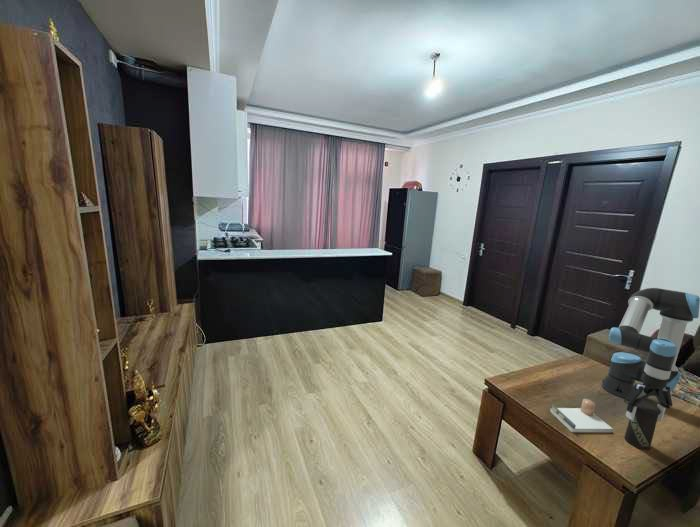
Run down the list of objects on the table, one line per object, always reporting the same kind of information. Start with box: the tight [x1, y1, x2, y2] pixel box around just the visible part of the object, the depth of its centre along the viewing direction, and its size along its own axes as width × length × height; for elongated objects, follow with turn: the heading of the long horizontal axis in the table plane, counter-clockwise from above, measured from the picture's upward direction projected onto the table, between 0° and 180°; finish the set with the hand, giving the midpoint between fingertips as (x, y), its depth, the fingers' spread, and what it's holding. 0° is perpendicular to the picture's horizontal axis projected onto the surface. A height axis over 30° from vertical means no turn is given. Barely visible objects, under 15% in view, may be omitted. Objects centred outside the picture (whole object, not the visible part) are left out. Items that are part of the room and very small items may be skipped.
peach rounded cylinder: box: [580, 398, 596, 416], centre depth 144 cm, size 5×5×6 cm
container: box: [624, 399, 661, 451], centre depth 127 cm, size 9×9×20 cm
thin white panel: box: [549, 404, 614, 433], centre depth 140 cm, size 20×14×4 cm
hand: (643, 418), depth 126 cm, fingers open, 13 cm apart
